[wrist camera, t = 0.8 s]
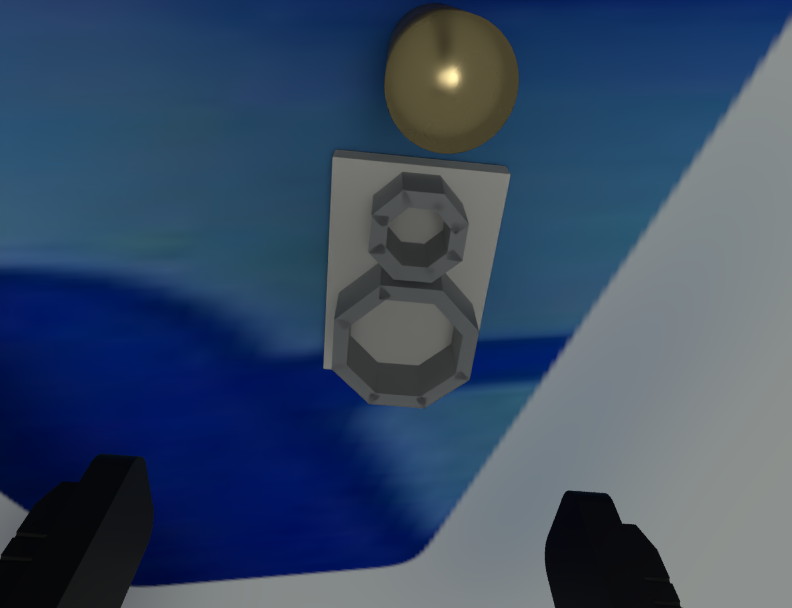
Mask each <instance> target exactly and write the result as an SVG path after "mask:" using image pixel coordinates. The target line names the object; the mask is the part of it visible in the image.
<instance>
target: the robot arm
mask: <svg viewBox="0 0 792 608" xmlns="http://www.w3.org/2000/svg"><path fill="white" fill-rule="evenodd" d="M153 518H154V510H153V503H152V497H151V492H150V486H149V480H148V474H147V468H146V463H145V460H144V458H143V457H139V456H125V455H112V454H99V455H97V456H96V457H95V458H94V459H93V461H92V462H91V464H90V465H89V467H88V469H87V470H86V472H85V473H84V475H83V477H82V478H81V480H80V482H79V483H78V482H64V481H63V482H61V483H60V484H59V485H58V486H56V487H55V488H54V489H53V490H52V491H50V492H49V493H48V494H47V495H46V496H44V497H43V498H42V499H41V500H39V501H38V502H37V503H36V504H35V505H34V506H33V508H32V509H31V511H30V512H29V514H28V515H27V517H26V518H25V520H24V521H23V523H22V524H21V526H20V527H19V529H18V530H17V534H16V536H15V538H12V539H11V541H10V542H9V544H8V545H7V547H6V548H5V550H4V551H3V553H2V554H1V559H0V608H121V605H122V603H123V601H124V598H125V596H126V593H127V591H128V589H129V587H130V584H131V582H132V580H133V577H134V575H135V573H136V570H137V568H138V566H139V563H140V561H141V559H142V556H143V554H144V552H145V549H146V547H147V544H148V542H149V539H150V535H151V531H152V526H153ZM545 566H546V572H547V577H548V581H549V585H550V589H551V593H552V597H553V601H554V605H555V608H681V606H680V600H679V598H678V595H677V593H676V591H675V589H674V586H673V584H671V583H670V581H669V578H670V577H669V575H668V573H667V571H666V568H665V566H664V564H663V562H662V560H661V557H660V555H659V553H658V551H657V549H656V548H655V547H654V545H653V544H652V543H651V542H650V541H649V540H648V539H647V537H646V536H645V535H644V534H643V533H642V532H641V530H640V529H639V528H638V527H637V526H636V525H634V524H622V522H621V520H620V517H619V515H618V513H617V510H616V508H615V505H614V503H613V501H612V499H611V497H610V496H609V495H608V494H606V493H596V492H582V491H566V492H565V494H564V496H563V498H562V500H561V503H560V506H559V508H558V511H557V514H556V516H555V519H554V521H553V524H552V527H551V529H550V532H549V534H548V537H547V541H546V546H545Z"/></svg>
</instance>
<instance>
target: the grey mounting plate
mask: <svg viewBox="0 0 792 608" xmlns="http://www.w3.org/2000/svg"><path fill="white" fill-rule="evenodd" d="M510 175H511V174H510V172H509V171H508V169H507V168H506V166H500V165H490V164H480V163H470V162H459V161H449V160H439V159H429V158H419V157H409V156H398V155H388V154H378V153H368V152H358V151H348V150H337V149H335V152H334V155H333V160H332V183H331V206H330V229H329V252H328V275H327V298H326V321H325V344H324V367H323V369H332V370H333V371H334V372H335V373H336V374H337V375H339V376H340V377H341V378H342V379H343V380H344V381H345V382H346V383H347V384H348V385H349V386H350V387H351V388H353V389H354V390H355V391H356V392H357V393H358V394H359V395H360V396H361V397H362V398H363V399H364V400H365V401H367V402H368V403H369V404H376V405H389V406H402V407H415V408H426V407H427V406H429V405H430V404H432V403H434V402H435V401H437V400H438V399H440V398H441V397H443V396H445V395H446V394H448V393H449V392H451V391H453V390H454V389H456V388H457V387H459V386H461V385H462V384H464V383H465V382H467V381H468V380H470V374H471V369H472V364H473V359H474V354H475V349H476V344H477V339H478V334H479V329H480V324H481V319H482V314H483V309H484V304H485V299H486V294H487V289H488V284H489V279H490V274H491V269H492V264H493V259H494V254H495V250H496V245H497V240H498V235H499V230H500V225H501V220H502V215H503V210H504V205H505V200H506V195H507V190H508V185H509V180H510Z"/></svg>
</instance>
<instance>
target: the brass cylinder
mask: <svg viewBox="0 0 792 608" xmlns="http://www.w3.org/2000/svg"><path fill="white" fill-rule="evenodd" d="M518 86H519V73H518V65H517V61H516V57H515V54H514V52H513V49H512V47H511V45H510V44H509V42H508V40H507V39H506V37H505V36H504V35H503V33H502V32H501V31H500V30H499V29H498V28H497V27H496V26H495V25H493V24H492V23H491V22H489V21H488V20H486V19H484V18H482V17H480V16H478V15H475V14H472V13H469V12H466V11H463V10H461V9H458V8H455V7H452V6H449V5H446V4H441V3H429V4H424V5H421V6H418V7H416V8H414V9H412V10H411V11H409V12H408V13H407V14H406V15H404V16H403V17H402V19H401V20H400V21H399V22H398V24H397V25H396V27H395V29H394V30H393V33H392V35H391V38H390V42H389V47H388V55H387V64H386V72H385V86H384V89H385V99H386V103H387V107H388V110H389V113H390V115H391V117H392V119H393V121H394V123H395V124H396V126H397V127H398V129H399V130H400V131H401V132H402V133H403V134H404V136H405V137H407V138H408V139H409V140H410V141H411V142H413V143H414V144H416V145H418V146H419V147H421V148H424V149H426V150H429V151H432V152H437V153H444V154H453V153H460V152H465V151H468V150H471V149H474V148H476V147H478V146H480V145H482V144H483V143H485V142H486V141H488V140H489V139H490V138H492V137H493V136H494V135H495V134H496V133H497V132H498V131H499V130H500V129H501V128H502V126H503V125H504V123H505V122H506V121H507V119H508V117H509V115H510V114H511V112H512V109H513V107H514V104H515V101H516V97H517V93H518Z"/></svg>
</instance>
